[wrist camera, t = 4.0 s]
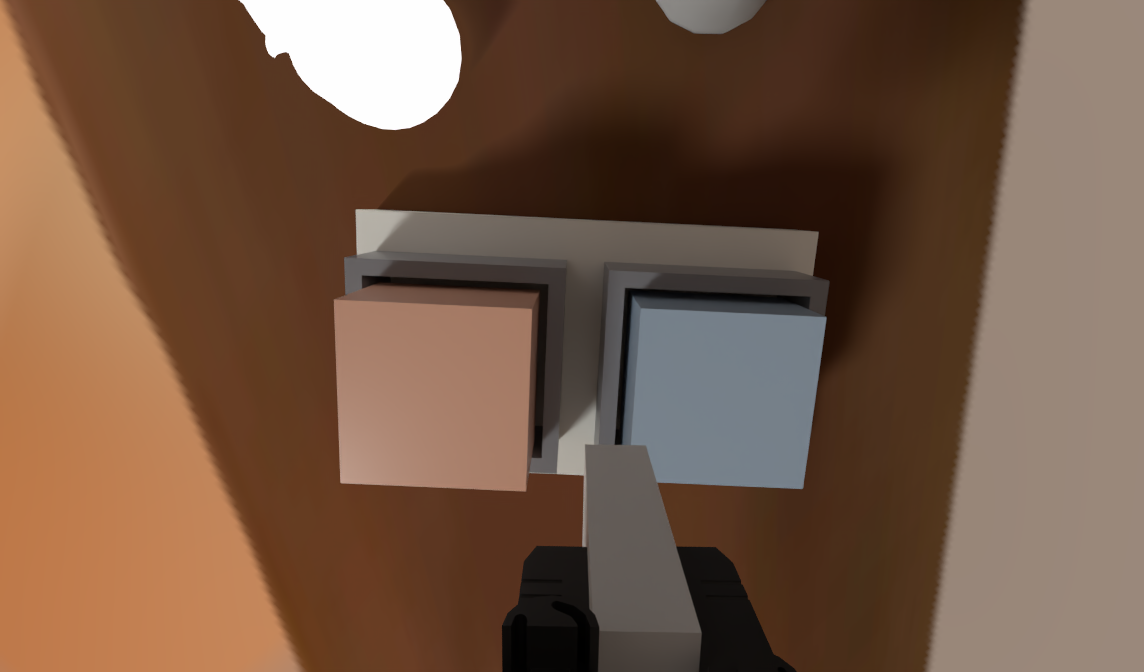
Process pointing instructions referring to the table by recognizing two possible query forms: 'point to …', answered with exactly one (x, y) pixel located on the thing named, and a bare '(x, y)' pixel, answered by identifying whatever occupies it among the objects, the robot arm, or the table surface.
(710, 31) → the salt shaker
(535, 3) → the table surface
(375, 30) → the figurine
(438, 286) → the terracotta key
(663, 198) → the table surface
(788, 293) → the key housing
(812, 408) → the slate blue key
